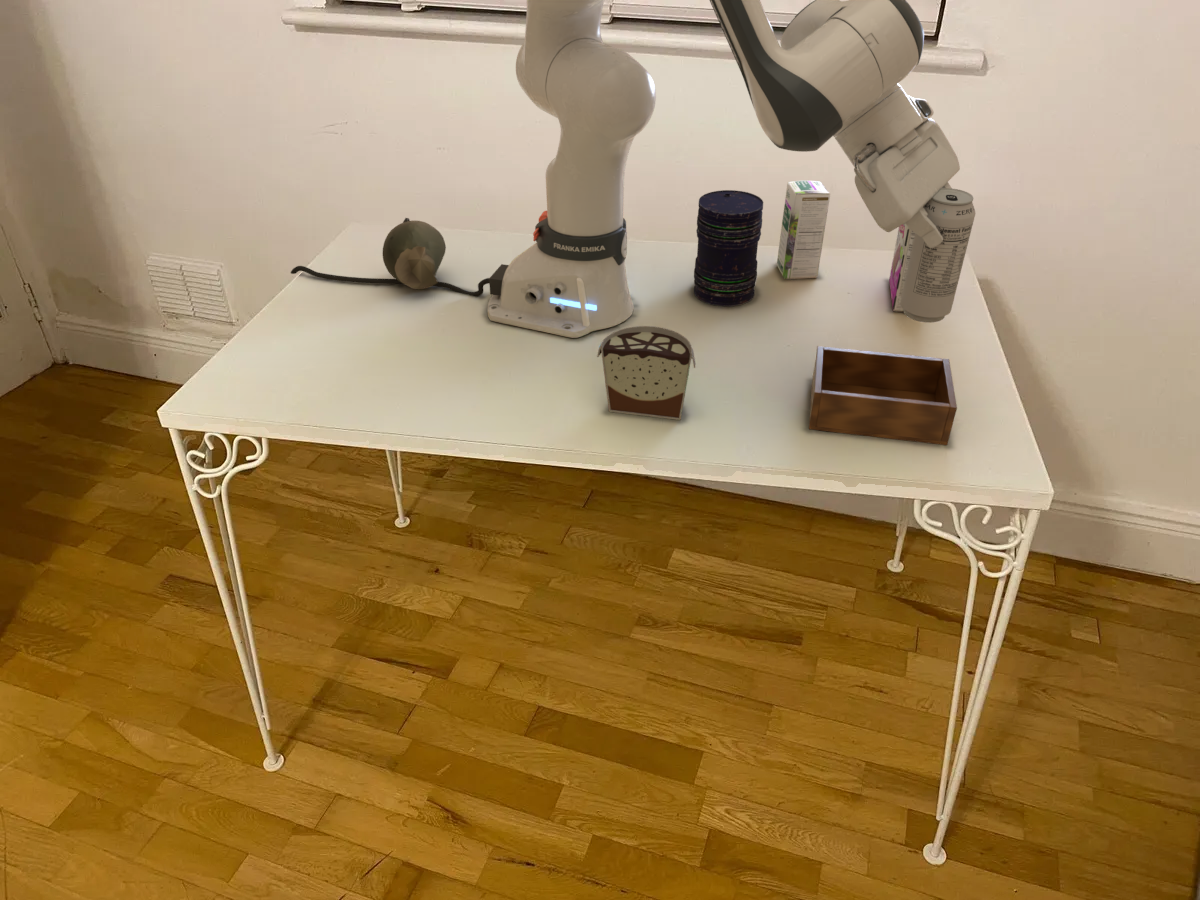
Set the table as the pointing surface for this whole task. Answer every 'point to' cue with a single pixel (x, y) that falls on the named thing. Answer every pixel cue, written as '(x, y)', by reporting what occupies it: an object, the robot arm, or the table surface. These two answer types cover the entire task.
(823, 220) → the syrup box
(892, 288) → the candy bar box
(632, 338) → the food container
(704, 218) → the blue barrel
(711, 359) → the table surface
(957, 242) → the energy drink can
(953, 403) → the wooden tray
